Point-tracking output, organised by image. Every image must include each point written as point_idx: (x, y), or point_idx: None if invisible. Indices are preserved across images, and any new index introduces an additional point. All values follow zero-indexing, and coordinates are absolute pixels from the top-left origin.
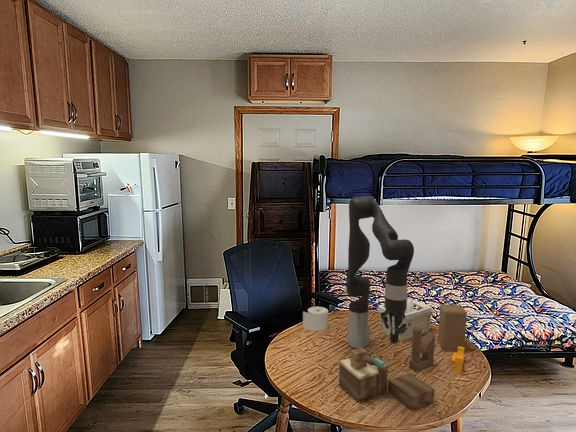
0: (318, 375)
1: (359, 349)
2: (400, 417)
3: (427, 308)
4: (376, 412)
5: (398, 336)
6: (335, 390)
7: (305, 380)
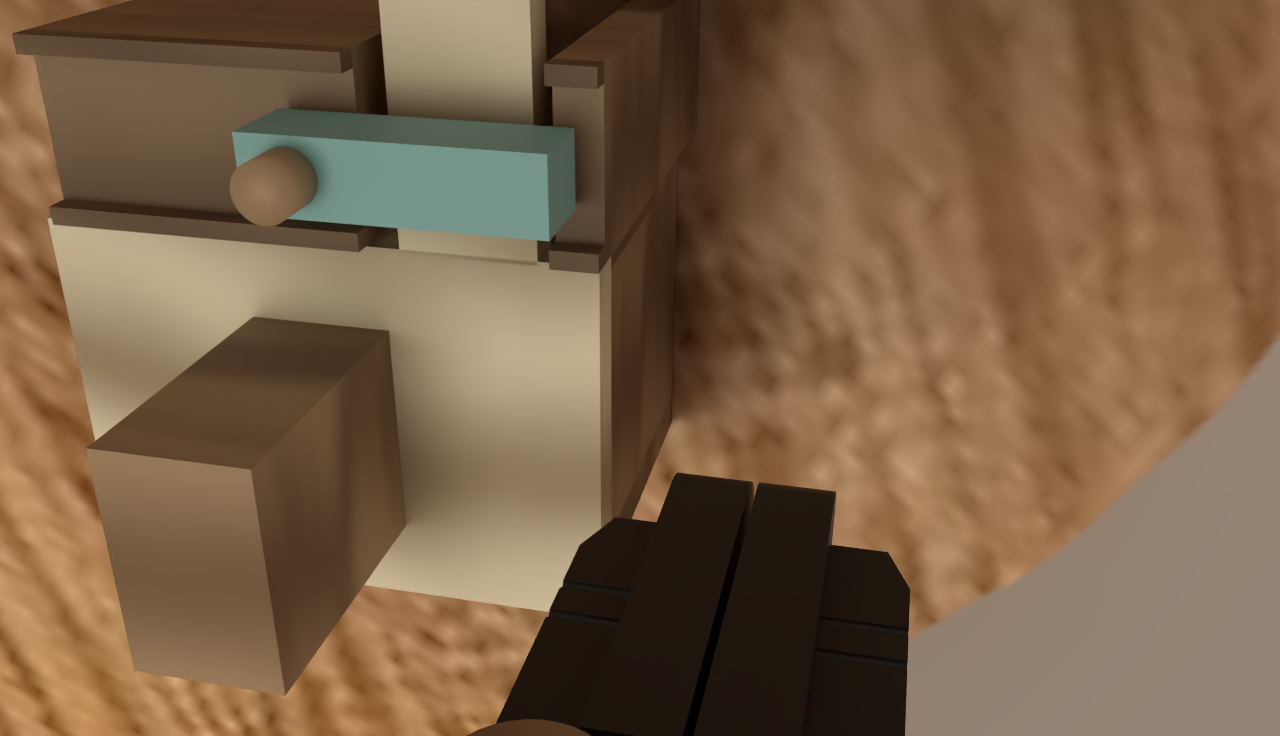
0: (65, 436)
1: (140, 531)
2: (1174, 208)
3: None
4: (923, 378)
5: (901, 727)
6: None
7: None
